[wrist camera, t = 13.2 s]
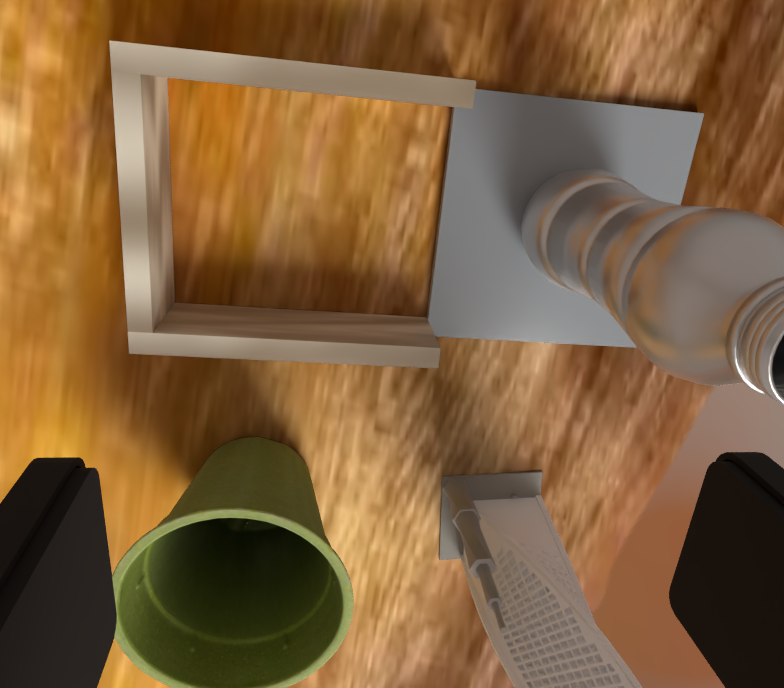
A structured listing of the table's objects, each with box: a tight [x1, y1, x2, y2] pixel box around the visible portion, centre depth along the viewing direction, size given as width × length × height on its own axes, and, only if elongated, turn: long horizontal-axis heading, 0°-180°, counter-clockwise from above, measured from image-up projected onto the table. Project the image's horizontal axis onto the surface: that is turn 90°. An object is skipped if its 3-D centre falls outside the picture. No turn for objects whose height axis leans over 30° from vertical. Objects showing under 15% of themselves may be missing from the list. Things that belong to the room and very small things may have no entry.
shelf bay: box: [109, 41, 476, 369], centre depth 32 cm, size 14×16×5 cm
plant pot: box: [112, 437, 353, 688], centre depth 35 cm, size 12×12×11 cm
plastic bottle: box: [521, 168, 784, 406], centre depth 26 cm, size 6×7×20 cm
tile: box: [427, 89, 704, 348], centre depth 36 cm, size 14×14×1 cm
